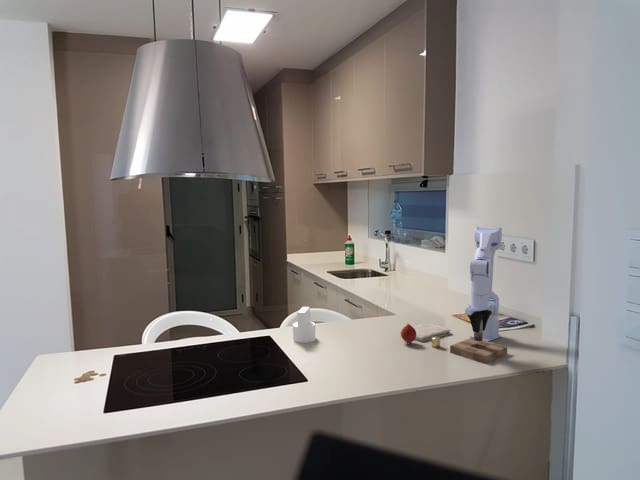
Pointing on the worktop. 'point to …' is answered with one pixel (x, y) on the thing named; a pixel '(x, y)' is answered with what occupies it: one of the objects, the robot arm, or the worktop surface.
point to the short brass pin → (436, 342)
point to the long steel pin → (479, 335)
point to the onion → (408, 334)
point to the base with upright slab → (304, 327)
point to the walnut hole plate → (478, 350)
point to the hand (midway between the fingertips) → (478, 330)
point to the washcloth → (429, 331)
